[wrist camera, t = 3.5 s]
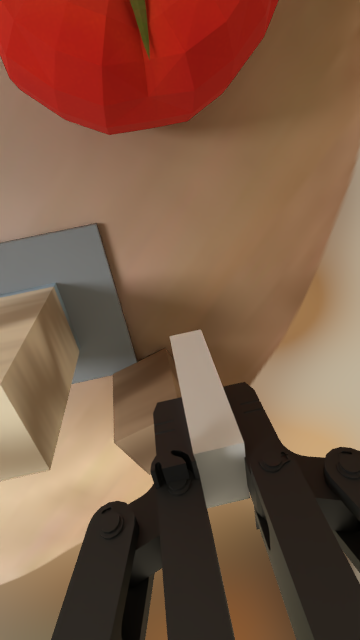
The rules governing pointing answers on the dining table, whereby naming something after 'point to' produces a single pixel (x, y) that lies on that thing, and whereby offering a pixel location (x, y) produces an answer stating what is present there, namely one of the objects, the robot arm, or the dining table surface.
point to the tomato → (128, 56)
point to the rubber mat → (75, 293)
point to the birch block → (33, 377)
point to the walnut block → (142, 404)
